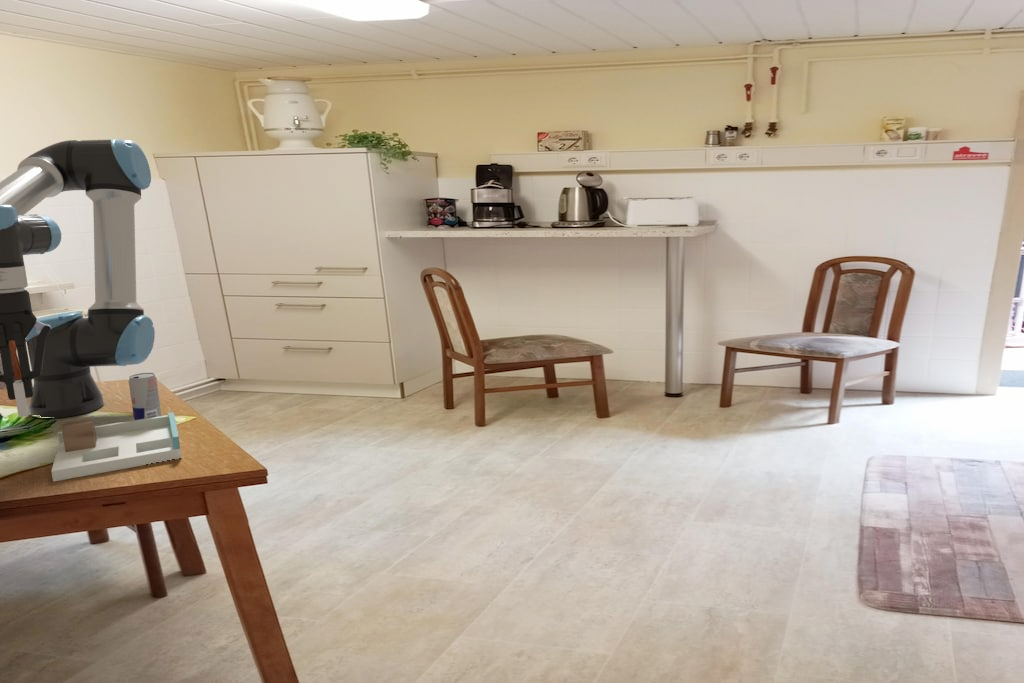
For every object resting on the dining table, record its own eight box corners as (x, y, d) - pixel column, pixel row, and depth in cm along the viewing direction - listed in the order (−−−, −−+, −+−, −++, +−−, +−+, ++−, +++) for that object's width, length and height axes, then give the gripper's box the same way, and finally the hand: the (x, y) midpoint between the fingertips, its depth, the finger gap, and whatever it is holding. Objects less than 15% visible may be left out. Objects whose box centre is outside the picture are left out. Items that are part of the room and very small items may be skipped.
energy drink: (137, 426, 154) (130, 374, 152) (164, 423, 156) (157, 371, 153) (134, 433, 149) (126, 379, 147) (161, 430, 151) (154, 377, 148)
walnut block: (67, 444, 138) (63, 420, 137) (96, 439, 140) (92, 416, 139) (65, 452, 133) (61, 427, 132) (95, 447, 136) (91, 422, 135)
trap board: (61, 450, 140) (57, 429, 139) (176, 431, 150) (173, 411, 149) (53, 481, 124) (48, 458, 124) (181, 458, 134) (178, 436, 133)
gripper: (-46, 295, 120) (-22, 426, 125) (43, 289, 126) (63, 414, 131) (-37, 291, 127) (-15, 415, 131) (48, 286, 133) (66, 404, 137)
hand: (24, 414), depth 131 cm, fingers closed
